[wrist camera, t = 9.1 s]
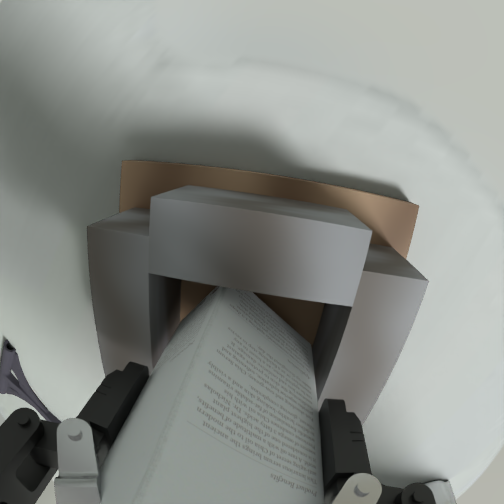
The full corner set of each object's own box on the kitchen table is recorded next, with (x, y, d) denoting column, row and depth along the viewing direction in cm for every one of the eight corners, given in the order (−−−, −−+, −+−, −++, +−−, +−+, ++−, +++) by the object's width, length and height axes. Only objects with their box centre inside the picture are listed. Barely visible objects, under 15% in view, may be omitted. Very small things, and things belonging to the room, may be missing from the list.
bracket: (75, 449, 29) (67, 462, 27) (1, 382, 27) (-9, 392, 24) (106, 426, 25) (97, 443, 23) (10, 335, 23) (-5, 348, 20)
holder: (410, 202, 15) (464, 225, 9) (338, 410, 20) (347, 468, 14) (132, 160, 15) (70, 165, 10) (137, 375, 21) (106, 425, 15)
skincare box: (179, 320, 15) (67, 515, 4) (231, 269, 14) (122, 520, 3) (259, 384, 16) (230, 578, 5) (315, 345, 15) (333, 571, 4)
